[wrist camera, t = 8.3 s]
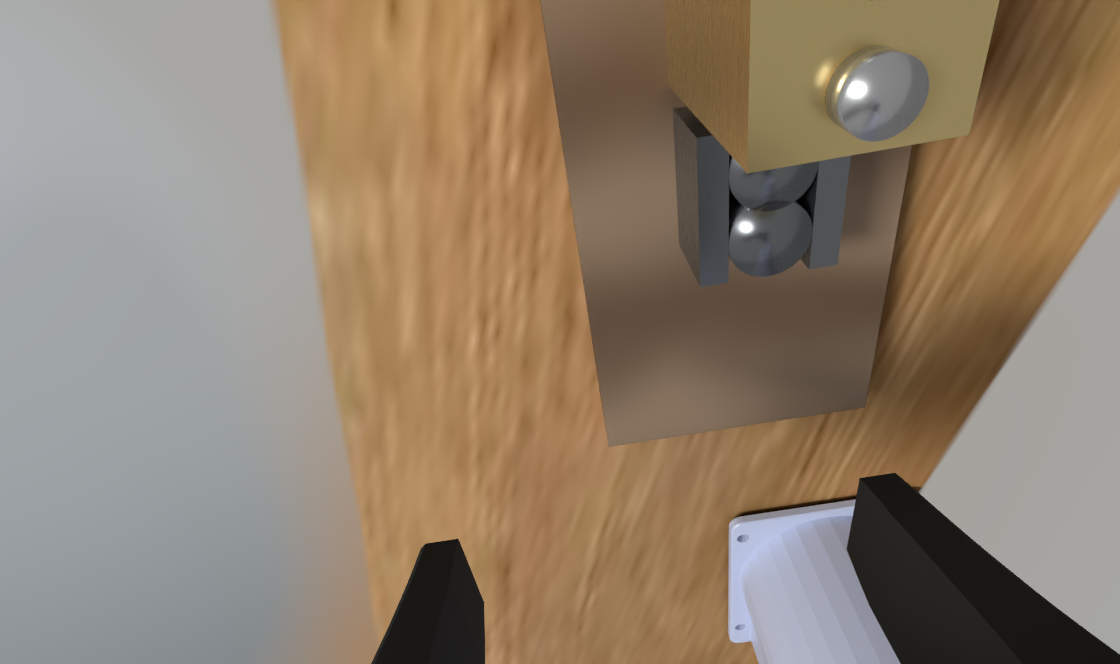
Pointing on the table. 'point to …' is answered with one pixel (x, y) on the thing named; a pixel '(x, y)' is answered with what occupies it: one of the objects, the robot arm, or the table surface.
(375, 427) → the table surface
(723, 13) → the brushed brass block
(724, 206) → the steel ball guide
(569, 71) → the board
